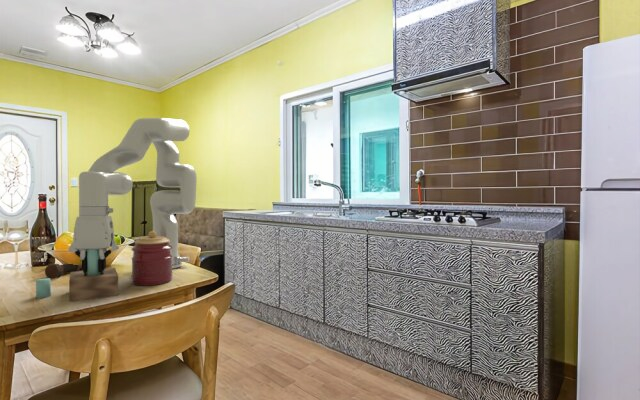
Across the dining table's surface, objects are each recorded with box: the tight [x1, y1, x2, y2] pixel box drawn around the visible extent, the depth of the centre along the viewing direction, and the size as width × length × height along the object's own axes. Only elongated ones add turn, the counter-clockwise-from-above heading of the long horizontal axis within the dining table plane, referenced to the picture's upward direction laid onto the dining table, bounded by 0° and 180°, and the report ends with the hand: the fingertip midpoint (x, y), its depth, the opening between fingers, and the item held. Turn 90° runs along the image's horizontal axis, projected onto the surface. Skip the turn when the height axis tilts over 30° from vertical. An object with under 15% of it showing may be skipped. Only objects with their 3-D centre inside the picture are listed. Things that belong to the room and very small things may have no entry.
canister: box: [130, 230, 173, 286], centre depth 122 cm, size 13×13×18 cm
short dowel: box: [35, 277, 52, 299], centre depth 103 cm, size 3×3×5 cm
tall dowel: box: [87, 249, 100, 276], centre depth 107 cm, size 3×3×11 cm
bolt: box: [44, 263, 82, 279], centre depth 132 cm, size 6×5×15 cm
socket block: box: [68, 267, 119, 303], centre depth 107 cm, size 12×12×6 cm
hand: (94, 271), depth 107 cm, fingers closed on tall dowel, 3 cm apart
